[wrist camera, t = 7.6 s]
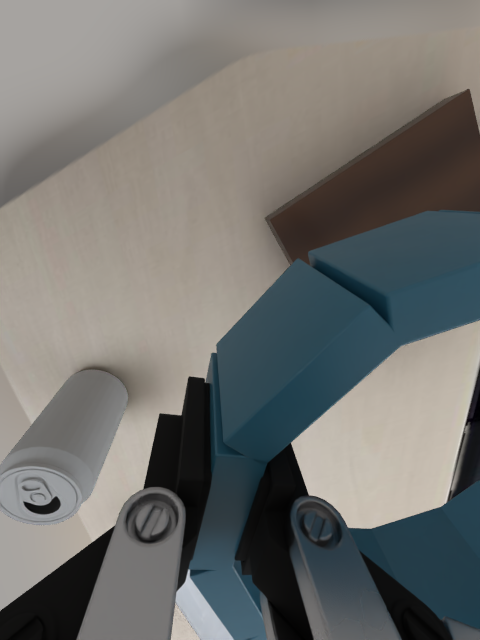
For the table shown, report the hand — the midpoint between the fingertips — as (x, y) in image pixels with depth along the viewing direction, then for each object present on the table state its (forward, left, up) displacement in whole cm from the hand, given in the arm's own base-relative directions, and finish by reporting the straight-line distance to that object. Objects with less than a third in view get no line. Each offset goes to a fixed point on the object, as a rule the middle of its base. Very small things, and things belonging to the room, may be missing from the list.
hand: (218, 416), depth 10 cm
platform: (+6, +15, -19) cm, 25 cm away
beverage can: (+3, -17, -19) cm, 25 cm away
